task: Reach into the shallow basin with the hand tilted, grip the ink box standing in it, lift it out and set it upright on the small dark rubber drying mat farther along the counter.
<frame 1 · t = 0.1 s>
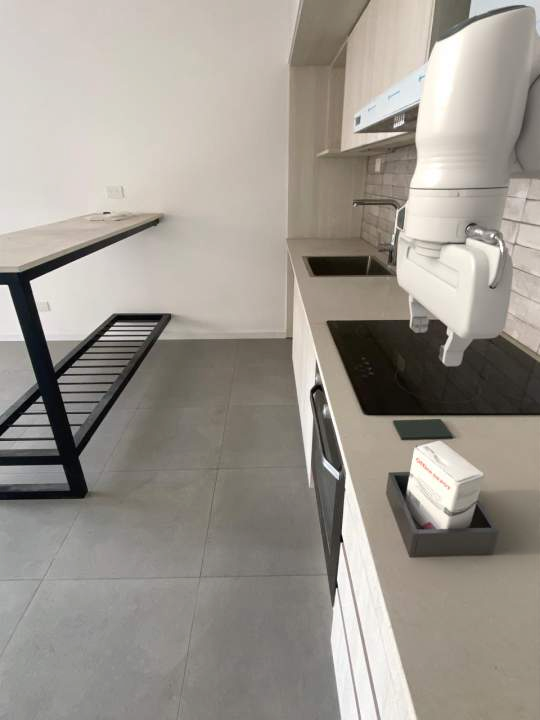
hand: (432, 345, 45), 30 cm above the worktop, tool pointing down, fingers open, 8 cm apart
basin: (434, 521, 59), on the worktop
drying mat: (421, 430, 80), on the worktop
ink box: (434, 522, 60), resting in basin
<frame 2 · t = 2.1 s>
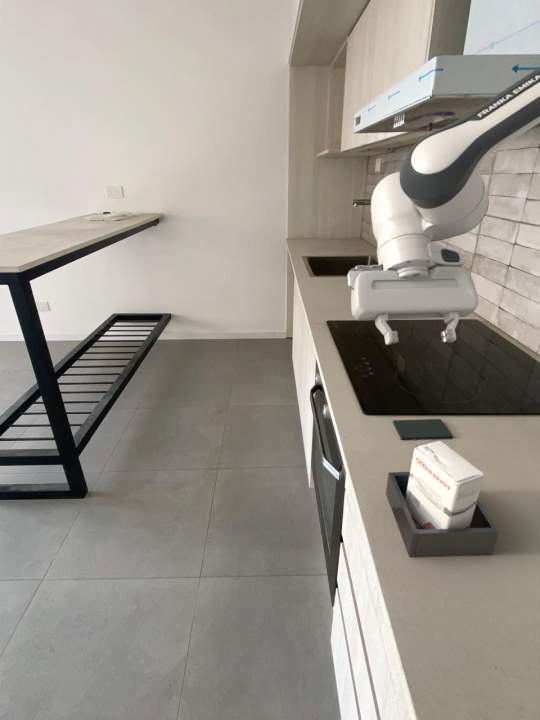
hand: (421, 342, 62), 23 cm above the worktop, tool tilted 40°, fingers open, 8 cm apart
nothing on the worktop moved.
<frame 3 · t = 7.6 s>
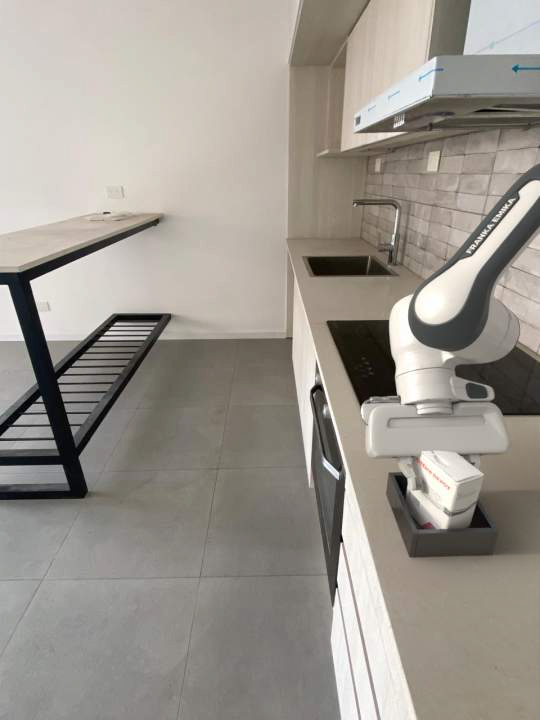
hand: (443, 489, 56), 7 cm above the worktop, tool tilted 45°, fingers closed on ink box, 6 cm apart
ink box: (433, 522, 59), resting in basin, touching gripper
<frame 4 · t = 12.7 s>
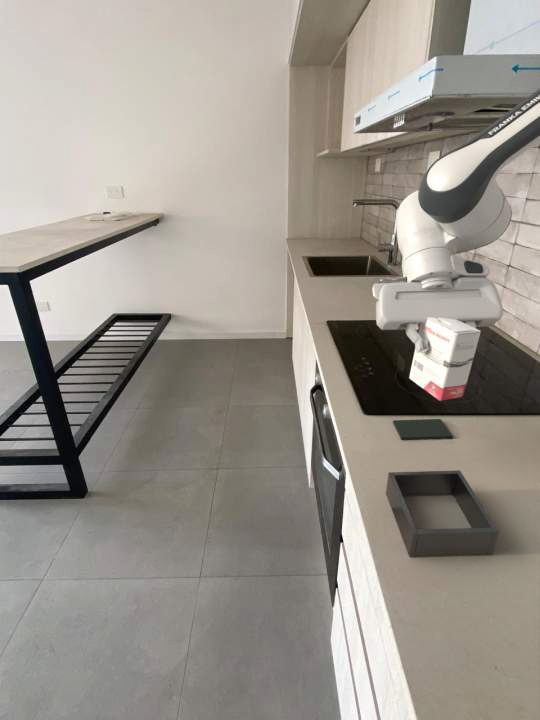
hand: (444, 350, 64), 21 cm above the worktop, tool tilted 45°, fingers closed on ink box, 6 cm apart
ink box: (435, 388, 67), point 14 cm above the worktop, touching gripper
when the fingers open (8 cm above the worktop, at t = 17.9 s): ink box stays where it is, resting on drying mat.
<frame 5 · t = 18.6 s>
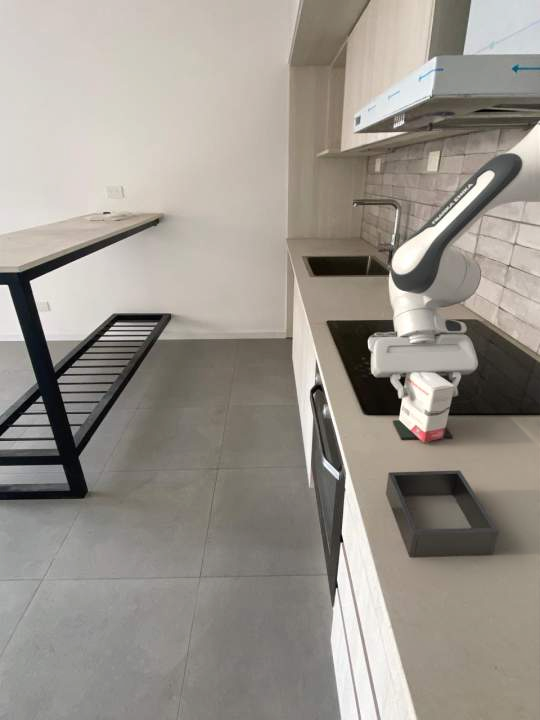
hand: (428, 397, 76), 8 cm above the worktop, tool tilted 45°, fingers open, 8 cm apart
ink box: (420, 429, 80), resting on drying mat
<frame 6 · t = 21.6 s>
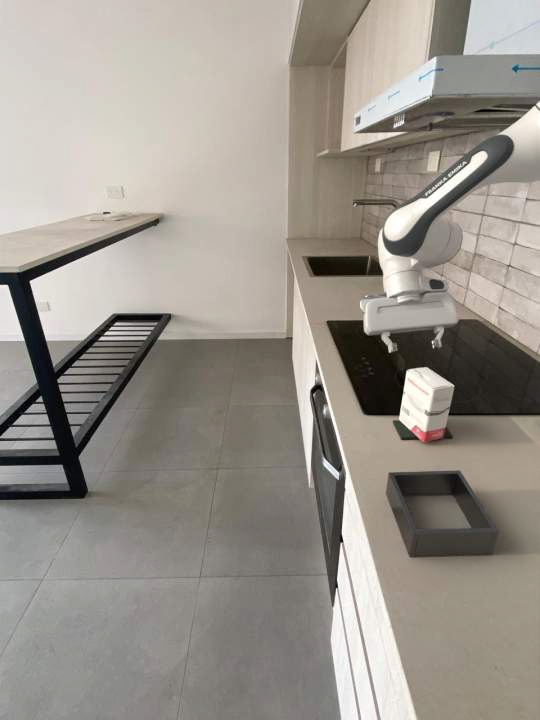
hand: (415, 350, 86), 12 cm above the worktop, tool tilted 40°, fingers open, 8 cm apart
nothing on the worktop moved.
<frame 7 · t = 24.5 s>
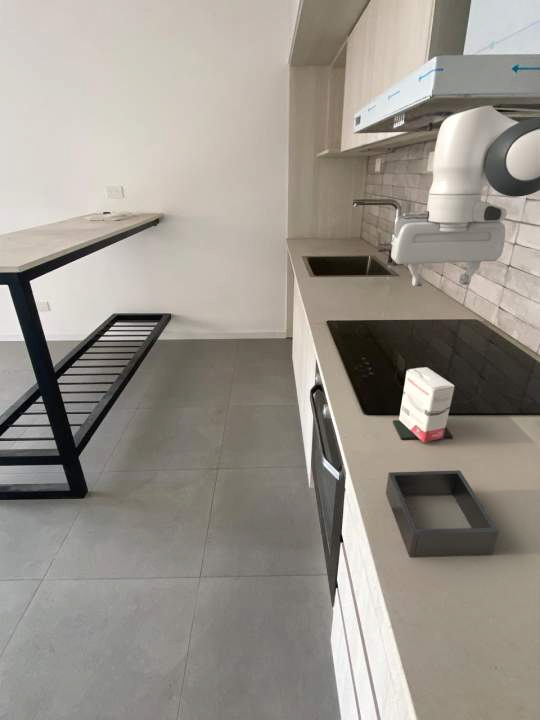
hand: (440, 284, 78), 27 cm above the worktop, tool pointing down, fingers open, 8 cm apart
nothing on the worktop moved.
at the end: ink box inside the target area on the drying mat (0.4 cm from its centre), point 0.4 cm above the drying mat's base; ink box tilted 0°; the gripper is holding nothing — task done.
